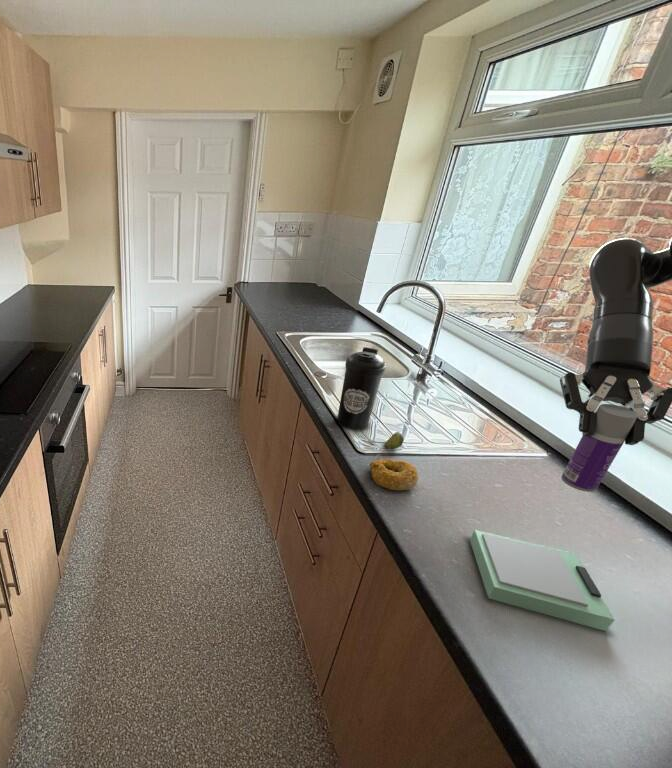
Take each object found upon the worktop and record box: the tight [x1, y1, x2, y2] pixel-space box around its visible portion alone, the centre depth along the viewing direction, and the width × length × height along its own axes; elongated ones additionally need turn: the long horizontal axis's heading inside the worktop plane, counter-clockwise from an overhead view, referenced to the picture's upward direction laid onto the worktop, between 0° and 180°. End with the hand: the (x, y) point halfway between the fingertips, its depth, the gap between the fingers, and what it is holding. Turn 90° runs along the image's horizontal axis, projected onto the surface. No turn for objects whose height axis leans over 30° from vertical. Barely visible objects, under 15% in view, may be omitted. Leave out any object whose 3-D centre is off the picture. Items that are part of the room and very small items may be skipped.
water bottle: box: [336, 346, 387, 431], centre depth 120 cm, size 10×10×23 cm
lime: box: [384, 431, 405, 450], centre depth 112 cm, size 4×5×5 cm
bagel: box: [369, 458, 419, 491], centre depth 100 cm, size 10×11×5 cm
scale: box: [469, 529, 615, 632], centre depth 75 cm, size 16×14×4 cm
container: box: [560, 403, 638, 493], centre depth 71 cm, size 5×5×15 cm
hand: (609, 439), depth 68 cm, fingers closed on container, 4 cm apart
